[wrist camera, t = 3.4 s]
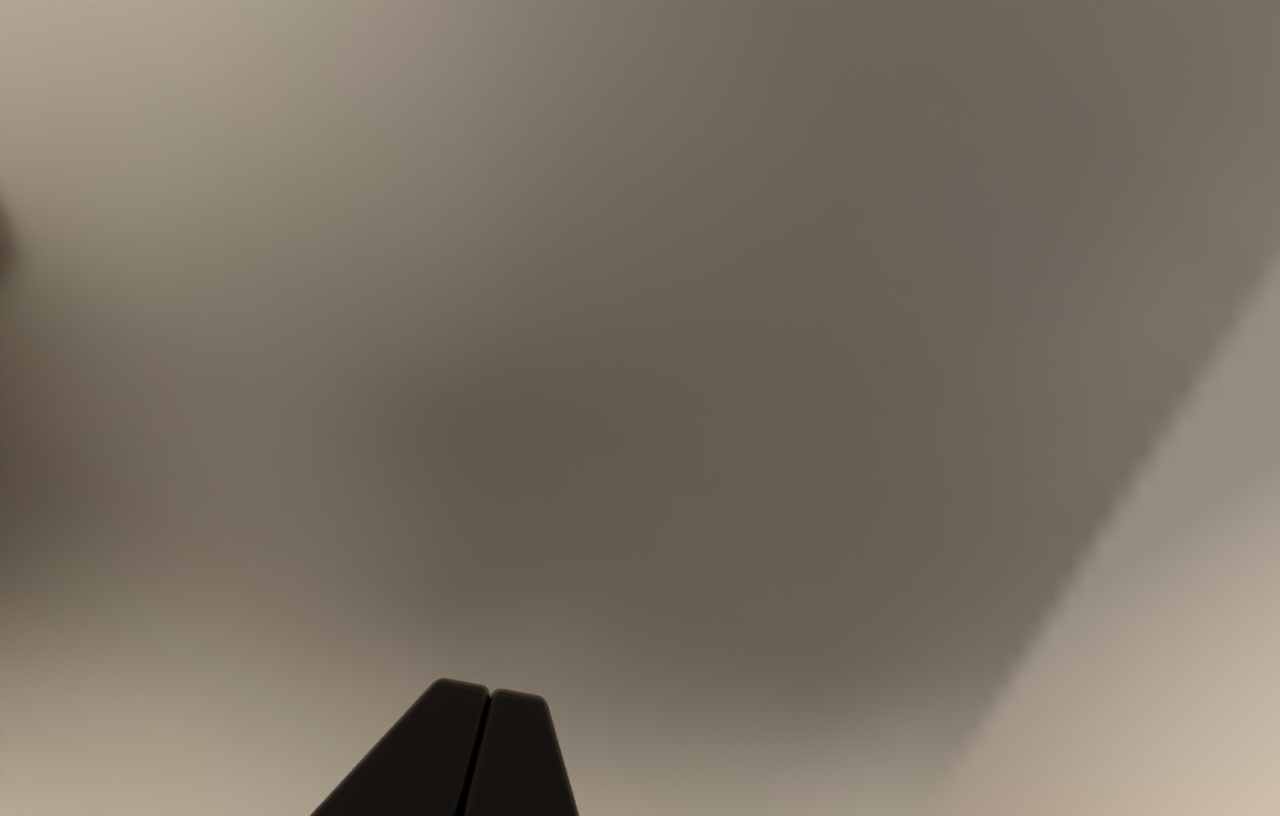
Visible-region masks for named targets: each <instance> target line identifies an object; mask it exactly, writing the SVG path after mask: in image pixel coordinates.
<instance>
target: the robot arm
mask: <svg viewBox="0 0 1280 816" xmlns="http://www.w3.org/2000/svg"><path fill="white" fill-rule="evenodd" d="M310 816H579V813H578V809H577V806H576V802H575V799H574V795H573V791H572V788H571V784H570V781H569V777H568V774H567V770H566V767H565V763H564V760H563V756H562V753H561V749H560V745H559V742H558V738H557V735H556V731H555V728H554V724H553V721H552V717H551V714H550V710H549V707H548V705H547V703H546V701H545V700H544V699H543V698H542V697H541V696H538V695H533V694H527V693H522V692H517V691H512V690H506V689H497V690H495V691H494V692H493V693H492V695H491V697H490V692H489V690H488V688H487V687H486V686H483V685H480V684H474V683H469V682H464V681H458V680H453V679H448V678H442V679H439V680H437V681H435V682H434V683H433V684H432V685H431V686H429V688H428V689H427V690H426V691H425V692H424V693H423V694H422V695H421V696H420V697H419V698H418V699H417V701H416V702H415V703H414V704H413V705H412V706H411V707H410V708H409V709H408V710H407V711H406V712H405V713H404V715H403V716H402V717H401V718H400V719H399V720H398V721H397V722H396V723H395V724H394V725H393V726H392V728H391V729H390V730H389V731H388V732H387V733H386V734H385V735H384V736H383V737H382V738H381V739H380V740H379V742H378V743H377V744H376V745H375V746H374V747H373V748H372V749H371V750H370V751H369V752H368V753H367V754H366V756H365V757H364V758H363V759H362V760H361V761H360V762H359V763H358V764H357V765H356V766H355V767H354V769H353V770H352V771H351V772H350V773H349V774H348V775H347V776H346V777H345V778H344V779H343V780H342V781H341V783H340V784H339V785H338V786H337V787H336V788H335V789H334V790H333V791H332V792H331V793H330V794H329V796H328V797H327V798H326V799H325V800H324V801H323V802H322V803H321V804H320V805H319V806H318V807H317V808H316V810H315V811H314V812H313V813H312V814H311V815H310Z"/></svg>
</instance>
